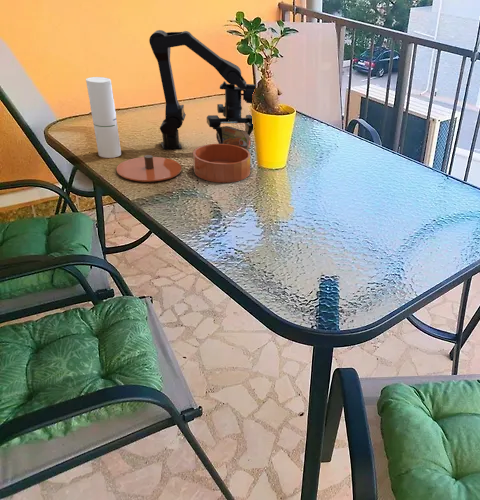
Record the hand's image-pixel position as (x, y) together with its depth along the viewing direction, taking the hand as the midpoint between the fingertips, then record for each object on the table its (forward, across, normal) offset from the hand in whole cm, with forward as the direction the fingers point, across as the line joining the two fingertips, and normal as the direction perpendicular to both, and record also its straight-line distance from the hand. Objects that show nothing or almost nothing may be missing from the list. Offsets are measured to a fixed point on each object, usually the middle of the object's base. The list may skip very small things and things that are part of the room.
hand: (233, 142), depth 178 cm
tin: (+3, 0, 0) cm, 3 cm away
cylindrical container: (+3, +43, -1) cm, 43 cm away
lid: (+2, +32, +16) cm, 36 cm away
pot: (+3, +9, +20) cm, 22 cm away
